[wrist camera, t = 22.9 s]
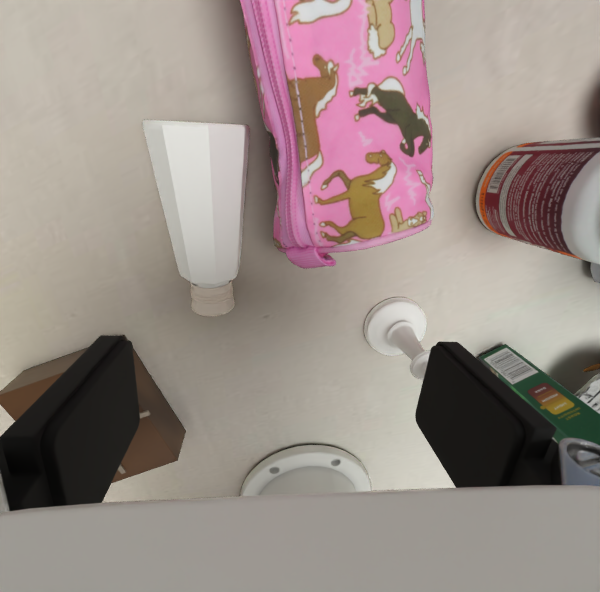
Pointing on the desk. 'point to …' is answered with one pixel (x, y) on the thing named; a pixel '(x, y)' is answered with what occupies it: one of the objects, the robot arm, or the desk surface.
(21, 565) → the robot arm
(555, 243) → the pill bottle
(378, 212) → the pencil case
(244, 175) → the pepper shaker
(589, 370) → the figurine
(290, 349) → the desk surface
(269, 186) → the desk surface
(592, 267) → the grey tall box
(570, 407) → the coffee box
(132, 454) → the dial panel
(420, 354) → the chess piece
